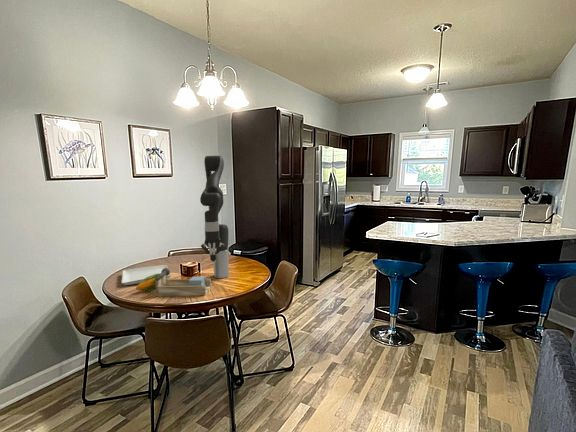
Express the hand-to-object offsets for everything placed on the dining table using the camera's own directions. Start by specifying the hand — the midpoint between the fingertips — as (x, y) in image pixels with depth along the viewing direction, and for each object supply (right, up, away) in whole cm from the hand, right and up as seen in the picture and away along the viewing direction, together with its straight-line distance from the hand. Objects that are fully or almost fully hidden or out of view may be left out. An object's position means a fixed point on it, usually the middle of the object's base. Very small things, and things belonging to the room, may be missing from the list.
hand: (213, 261), depth 167 cm
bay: (-16, -17, +2) cm, 24 cm away
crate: (-9, -16, +2) cm, 18 cm away
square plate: (-49, -15, +27) cm, 58 cm away
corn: (-37, -17, +7) cm, 41 cm away
